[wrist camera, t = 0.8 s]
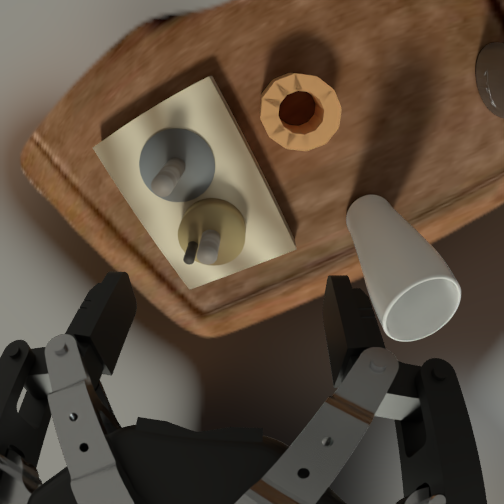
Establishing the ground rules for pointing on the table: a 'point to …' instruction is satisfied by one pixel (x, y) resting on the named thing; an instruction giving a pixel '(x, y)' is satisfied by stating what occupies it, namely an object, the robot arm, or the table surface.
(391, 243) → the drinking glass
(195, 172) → the gear board
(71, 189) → the table surface
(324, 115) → the gear
